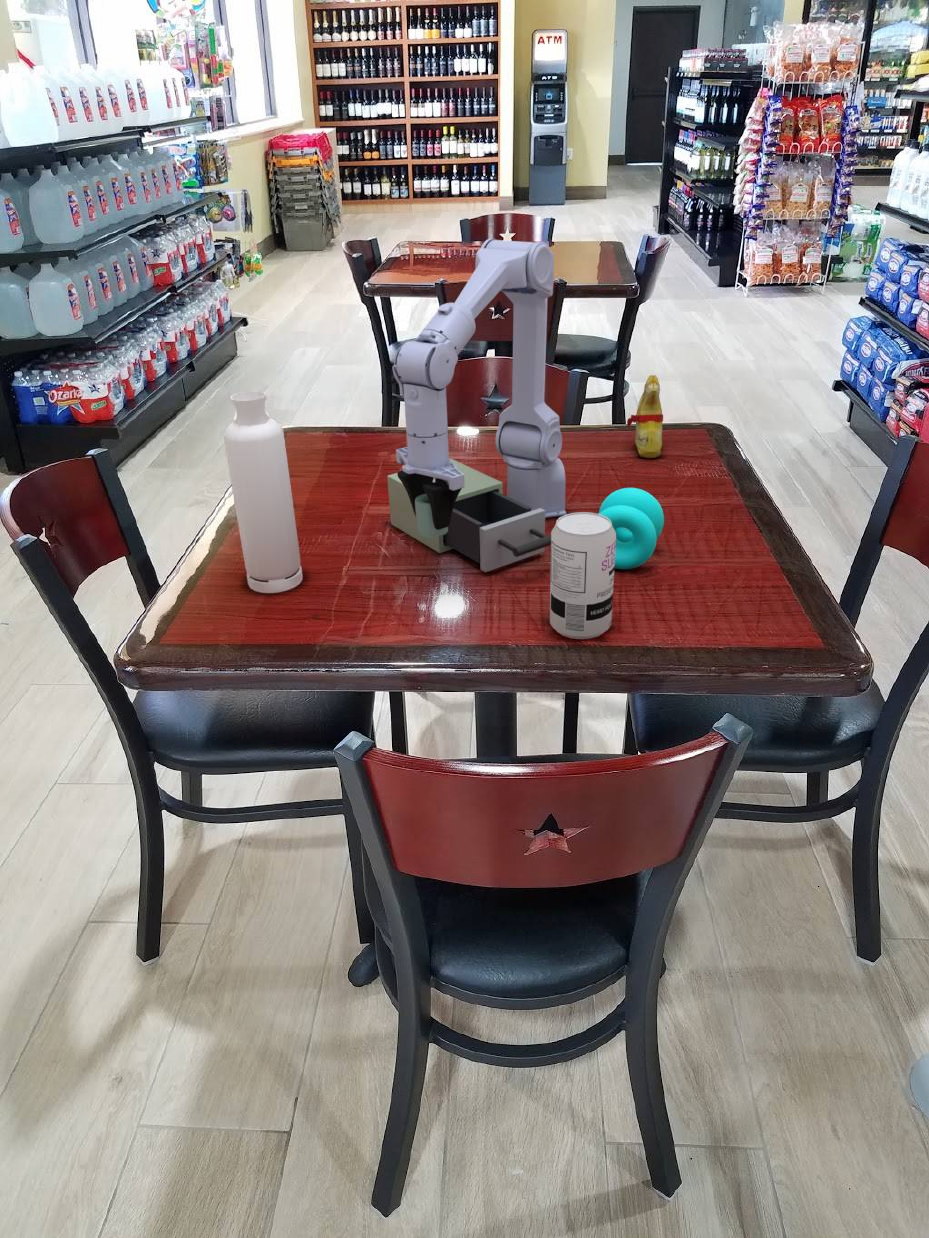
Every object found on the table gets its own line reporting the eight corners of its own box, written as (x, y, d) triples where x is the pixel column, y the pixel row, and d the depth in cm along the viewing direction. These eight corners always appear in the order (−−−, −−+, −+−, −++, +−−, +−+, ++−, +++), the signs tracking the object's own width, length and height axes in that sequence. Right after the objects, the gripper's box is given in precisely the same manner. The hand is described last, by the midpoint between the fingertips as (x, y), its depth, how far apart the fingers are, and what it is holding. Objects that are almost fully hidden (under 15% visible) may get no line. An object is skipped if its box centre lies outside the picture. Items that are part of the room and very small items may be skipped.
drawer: (566, 562, 139) (567, 520, 136) (506, 584, 134) (505, 541, 130) (492, 523, 153) (491, 484, 149) (434, 542, 147) (432, 502, 144)
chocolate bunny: (657, 441, 188) (663, 367, 180) (664, 460, 178) (670, 382, 171) (623, 441, 188) (627, 367, 181) (628, 460, 179) (632, 383, 171)
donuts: (662, 548, 145) (667, 488, 140) (652, 576, 136) (657, 513, 131) (599, 541, 148) (602, 482, 143) (585, 568, 139) (587, 506, 134)
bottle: (306, 587, 137) (281, 400, 123) (250, 596, 135) (219, 407, 121) (298, 564, 143) (274, 384, 130) (245, 572, 142) (215, 391, 128)
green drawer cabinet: (503, 532, 152) (502, 482, 147) (439, 553, 146) (437, 502, 141) (452, 505, 162) (450, 458, 158) (390, 524, 156) (387, 475, 152)
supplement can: (544, 613, 128) (546, 512, 120) (604, 609, 128) (609, 508, 121) (554, 643, 121) (556, 538, 113) (617, 639, 121) (623, 534, 114)
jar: (443, 522, 138) (442, 491, 136) (451, 534, 134) (450, 502, 132) (414, 526, 137) (412, 495, 135) (421, 539, 133) (419, 506, 131)
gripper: (375, 424, 131) (382, 513, 138) (432, 451, 121) (437, 545, 128) (417, 414, 135) (422, 501, 142) (476, 439, 124) (478, 532, 131)
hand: (432, 521), depth 135 cm, fingers closed on jar, 4 cm apart
